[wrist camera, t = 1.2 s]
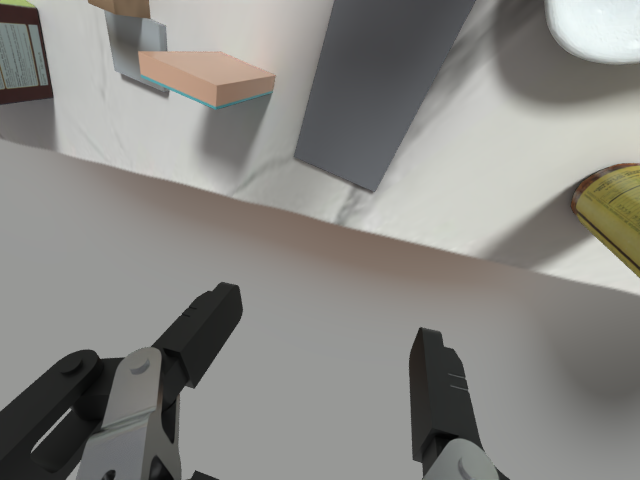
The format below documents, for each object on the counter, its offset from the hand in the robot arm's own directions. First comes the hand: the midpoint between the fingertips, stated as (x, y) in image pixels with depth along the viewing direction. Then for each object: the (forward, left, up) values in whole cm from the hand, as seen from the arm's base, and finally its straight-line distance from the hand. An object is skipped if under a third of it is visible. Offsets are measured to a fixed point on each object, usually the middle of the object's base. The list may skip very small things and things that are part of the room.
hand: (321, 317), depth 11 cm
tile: (-3, -15, -21) cm, 26 cm away
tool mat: (-6, -3, -21) cm, 22 cm away
